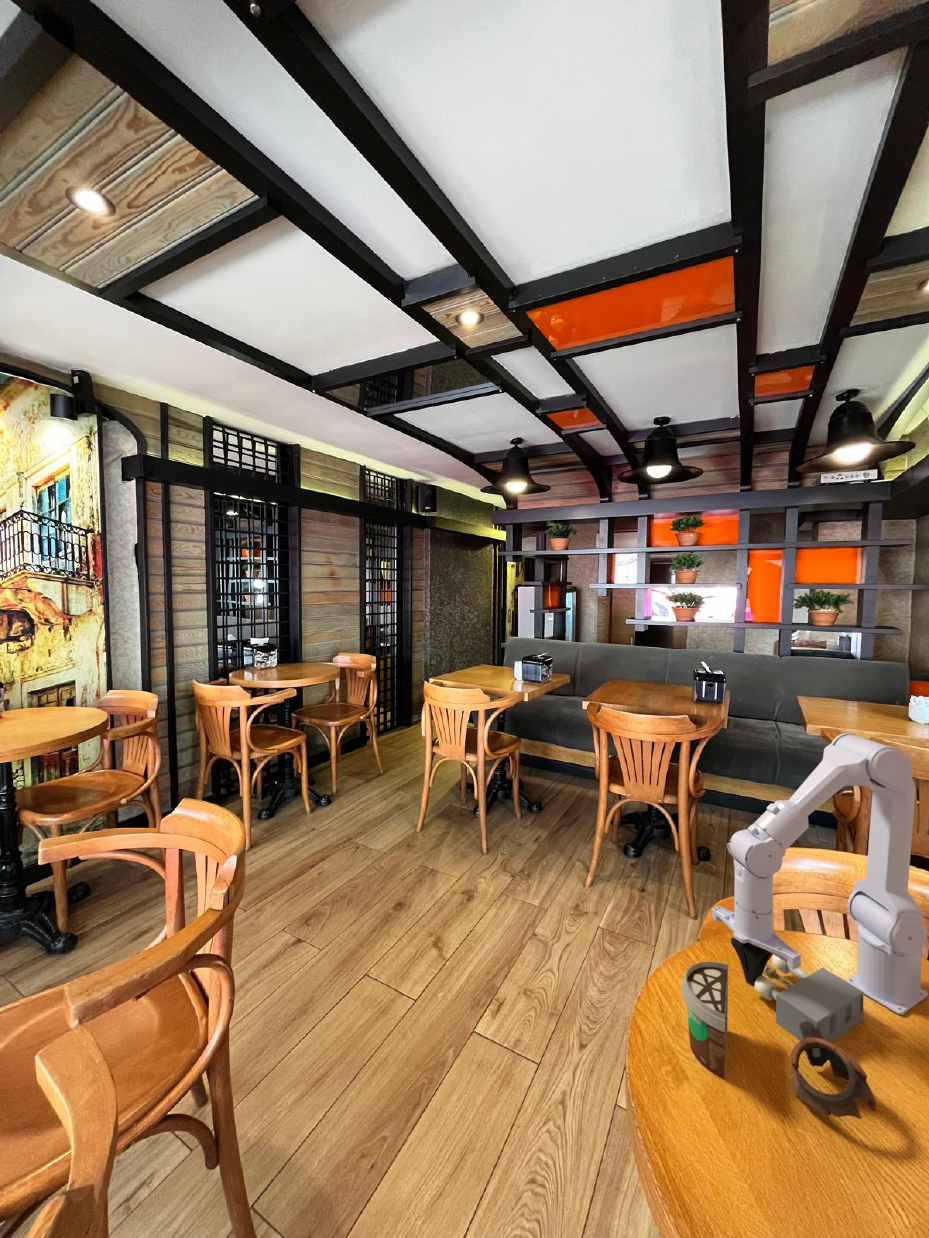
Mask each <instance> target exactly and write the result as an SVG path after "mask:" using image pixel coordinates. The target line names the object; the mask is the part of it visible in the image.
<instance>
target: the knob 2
mask: <svg viewBox="0 0 929 1238" xmlns="http://www.w3.org/2000/svg"><path fill="white" fill-rule="evenodd" d="M771 965H772V967H773V968H774V969H777V970H778V971H779V972H781V973H783V974H784V975H788V974H789V973H791V974H792V975H793V976H796V977H797V978H798V979H800V981H801V980H802V979H804V978H806V977H807V976H809V975H810V974H809V973H807V972H806V971H804V970H803V969H802V968H799V967H798V968H796V969H794V970H793V969H791V968H790V967H788V966H787V963H786V962H785V961H783V960H782V959H780V958H778V957H777V956H775V955H774V954H773V955H772V956H771Z"/></svg>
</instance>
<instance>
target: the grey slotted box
mask: <svg viewBox="0 0 929 1238" xmlns="http://www.w3.org/2000/svg"><path fill="white" fill-rule="evenodd" d="M793 984H794V985H792V986H790V987H786V988H785V989H784V990H783V989H782V991H779V992H780V993H778V994H776V1000H775V1006H776V1007H775V1023H776V1024H777V1025H779V1027H781V1028H782V1029H784V1030H786V1031H787V1032H788V1033H789V1034H790V1035H792V1036H793V1037H795V1038H796V1039H798V1040H799V1042H800V1041H801V1040H803V1036H802V1033H801V1030H800V1027H799V1025H800V1024H801V1022H805V1021H809V1022H811V1023H812V1024H813V1025H814V1026H815V1028H816V1029H817V1030H818V1031H819V1033H820V1034H821V1036H822V1037H823V1038H824V1040H826V1041H829V1042H830V1043H832V1042H833V1041H835V1040H837V1039H838V1038H840V1037H841V1036H842V1035H844V1034H845V1033H846V1032H848V1031H850V1030H851V1029H852V1028H854V1027H855V1026H857V1025H858V1024H859V1023H861V1022H862V1021H864V993H863V991H861V990H860V989H858V988H856V987H855V986H853V985H851V984H850V983H848V982H846V980H845V979H842V978H841V977H839V976H838V975H836V974H834V973H833V972H831V971H829V970H827V969H826V968H824V967H822V968H819V969H818V970H817V971H814V972H813V973H811V974H809V976H807V977H806V978H804V979H802V980H801V979H800V980H799V981H797V982H795V983H793Z"/></svg>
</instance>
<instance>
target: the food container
mask: <svg viewBox="0 0 929 1238" xmlns="http://www.w3.org/2000/svg"><path fill="white" fill-rule="evenodd" d="M728 976H729V964H727V963H724V962H720V961H711V960H709V961H706V960H705V961H700V962H697V963H694V964H692V965H691V966H689V968H688V969H687V970H686V973H685V974H684V977H683V980H682V983H681V994H682V998H683V1001H684V1003H685V1004H686V1008H687V1011H686V1012H687V1023H688V1035H689V1037H688V1038H689V1047H690V1050H691V1052H692V1054H693V1055H694V1057H695V1058H696V1060H697V1061H698V1063H700V1064H701V1065H702V1066H703V1067H704V1068H705V1069H706V1070H708V1071H709V1072H710V1073H711V1074H713V1075H715V1076H717V1077H718V1078H720V1079H723V1080H726V1065H727V1063H726V1062H727V1047H728V1043H727V1042H728V1022H729V1021H728V1017H729V1016H728V1014H729V1013H728V1010H729V1009H728V1004H729V1003H728V1002H729V1001H728V997H729V995H728V994H729V991H728V990H729V977H728Z"/></svg>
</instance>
